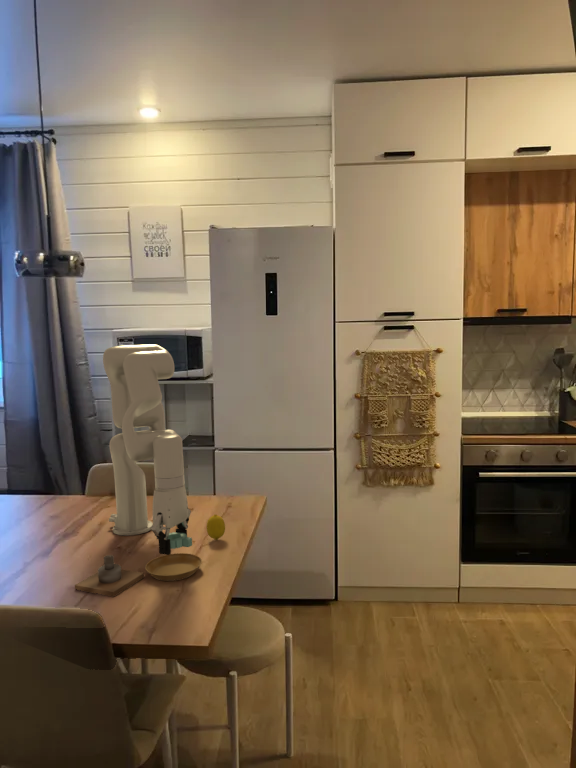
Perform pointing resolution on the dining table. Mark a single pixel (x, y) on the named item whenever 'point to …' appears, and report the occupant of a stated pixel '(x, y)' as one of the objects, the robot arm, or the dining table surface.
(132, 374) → the robot arm
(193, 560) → the plant saucer
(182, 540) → the ring
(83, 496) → the dining table surface
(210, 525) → the lemon
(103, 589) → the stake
